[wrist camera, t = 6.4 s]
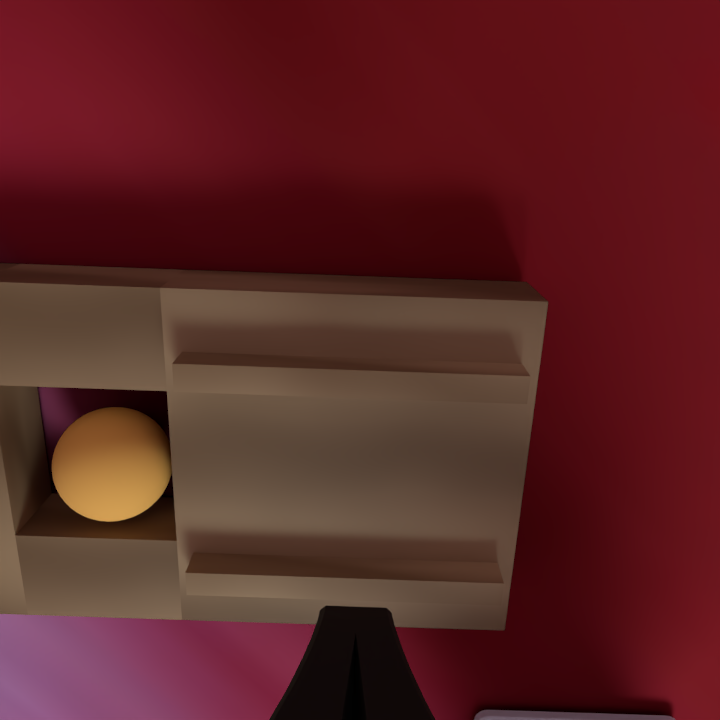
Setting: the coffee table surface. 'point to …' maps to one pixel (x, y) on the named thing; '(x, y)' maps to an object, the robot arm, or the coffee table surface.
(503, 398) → the board
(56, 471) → the ball
